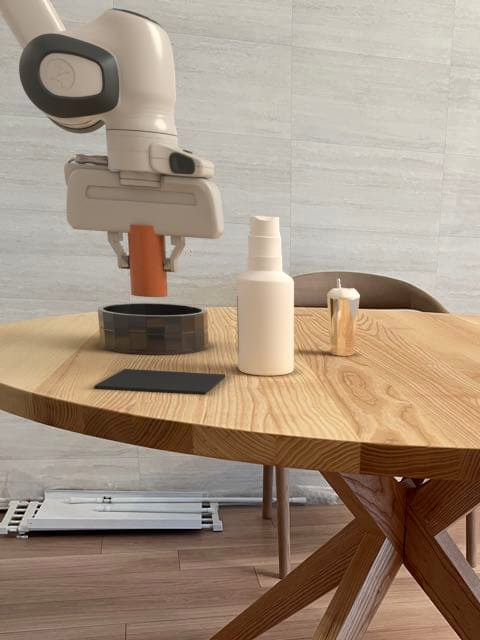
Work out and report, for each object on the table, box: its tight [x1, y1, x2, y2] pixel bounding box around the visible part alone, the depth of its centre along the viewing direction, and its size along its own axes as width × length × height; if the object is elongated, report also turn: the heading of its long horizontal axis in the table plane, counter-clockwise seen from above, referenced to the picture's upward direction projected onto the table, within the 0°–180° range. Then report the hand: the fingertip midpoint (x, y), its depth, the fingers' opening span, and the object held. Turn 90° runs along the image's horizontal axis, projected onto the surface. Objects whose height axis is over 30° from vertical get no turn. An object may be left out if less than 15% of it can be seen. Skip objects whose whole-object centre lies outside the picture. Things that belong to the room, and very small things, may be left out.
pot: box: [97, 302, 209, 356], centre depth 115 cm, size 14×14×5 cm
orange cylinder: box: [127, 225, 168, 298], centre depth 112 cm, size 5×5×9 cm
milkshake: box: [326, 278, 361, 357], centre depth 116 cm, size 4×5×10 cm
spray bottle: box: [235, 215, 295, 377], centre depth 100 cm, size 7×7×18 cm
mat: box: [94, 368, 226, 395], centre depth 94 cm, size 12×10×1 cm
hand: (148, 270), depth 112 cm, fingers closed on orange cylinder, 5 cm apart
